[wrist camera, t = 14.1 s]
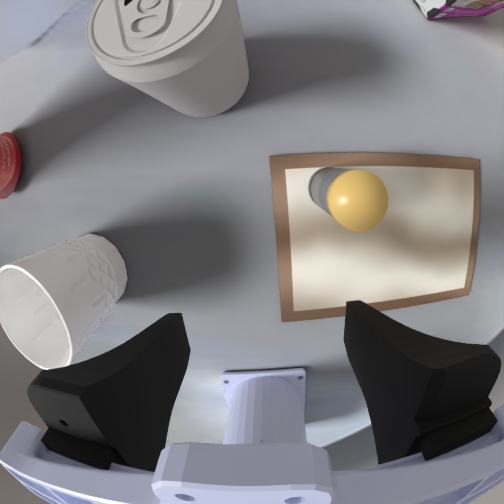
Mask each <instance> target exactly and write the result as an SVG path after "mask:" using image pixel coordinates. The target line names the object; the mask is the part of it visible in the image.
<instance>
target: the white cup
mask: <svg viewBox="0 0 504 504" xmlns="http://www.w3.org/2000/svg"><path fill="white" fill-rule="evenodd" d="M127 279H128V278H127V272H126V266H125V262H124V260H123V258H122V256H121V255H120V253H119V251H118V249H117V248H116V246H114V245H113V244H112V243H111V242H109V241H108V240H107V239H106V238H104V237H103V236H99V235H94V234H90V233H89V234H86V235H83V236H81V237H78V238H75V239H72V240H65V241H63V242H60V243H57V244H54V245H51V246H49V247H47V248H44V249H42V250H39V251H37V252H34V253H32V254H29V255H27V256H25V257H23V258H20V259H18V260H16V261H13V262H11V263H9V264H7V265H4V266H2V267H1V268H0V323H1V325H2V327H3V329H4V330H5V332H6V334H7V336H8V337H9V339H10V340H11V341H12V343H13V344H14V346H15V347H16V348H17V349H18V350H19V351H20V352H21V353H22V354H23V355H24V356H25V357H26V358H27V359H28V360H29V361H31V362H32V363H33V364H35V365H37V366H38V367H40V368H42V369H45V370H48V369H54V368H60V367H65V366H69V365H70V364H71V363H72V362H73V360H74V359H75V357H76V356H77V355H78V353H79V352H80V351H81V349H82V348H83V347H84V345H85V344H86V343H87V341H88V340H89V339H90V338H91V336H92V335H93V334H94V332H95V331H96V330H97V329H98V327H99V326H100V325H101V323H102V322H103V321H104V319H105V318H106V316H107V315H108V314H109V312H110V310H111V308H112V307H113V306H114V304H115V303H116V302H117V301H118V299H119V298H120V297H121V296H122V295H123V294H124V291H125V287H126V283H127Z"/></svg>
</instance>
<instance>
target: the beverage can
mask: <svg viewBox="0 0 504 504" xmlns="http://www.w3.org/2000/svg"><path fill="white" fill-rule="evenodd" d="M86 38H87V42H88V45H89V47H90V49H91V51H92V52H93V53H94V54H95V56H96V59H97V61H98V63H99V64H100V66H101V67H102V68H103V69H104V70H105V71H106V72H107V73H109V74H110V75H112V76H113V77H115V78H117V79H119V80H121V81H123V82H125V83H127V84H129V85H131V86H133V87H135V88H137V89H139V90H141V91H142V92H144V93H146V94H148V95H150V96H152V97H154V98H155V99H157V100H159V101H161V102H163V103H165V104H166V105H168V106H170V107H172V108H173V109H175V110H177V111H179V112H181V113H183V114H185V115H188V116H192V117H210V116H214V115H217V114H220V113H222V112H224V111H226V110H228V109H229V108H231V107H232V106H233V105H234V104H236V103H237V102H238V101H239V99H240V98H241V97H242V95H243V94H244V92H245V90H246V88H247V85H248V81H249V67H248V61H247V55H246V49H245V43H244V37H243V31H242V25H241V20H240V14H239V8H238V3H237V0H97V1H96V3H95V4H94V6H93V8H92V10H91V12H90V14H89V17H88V21H87V26H86Z"/></svg>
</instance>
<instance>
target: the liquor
mask: <svg viewBox="0 0 504 504" xmlns="http://www.w3.org/2000/svg"><path fill="white" fill-rule="evenodd" d="M21 167H22V155H21V151H20V148H19V145H18V142H17V140H16V138H15V137H14V136H13V135H12V134H11V133H9V132H4V133H2V134H0V199H5V198H7V197H8V196H9V195H10V194H11V193H12V192H13V190H14V188H15V186H16V184H17V181H18V178H19V175H20V172H21Z"/></svg>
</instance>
